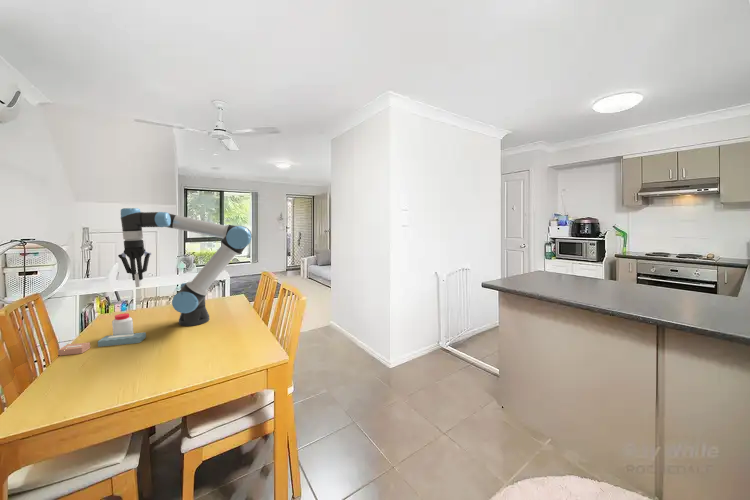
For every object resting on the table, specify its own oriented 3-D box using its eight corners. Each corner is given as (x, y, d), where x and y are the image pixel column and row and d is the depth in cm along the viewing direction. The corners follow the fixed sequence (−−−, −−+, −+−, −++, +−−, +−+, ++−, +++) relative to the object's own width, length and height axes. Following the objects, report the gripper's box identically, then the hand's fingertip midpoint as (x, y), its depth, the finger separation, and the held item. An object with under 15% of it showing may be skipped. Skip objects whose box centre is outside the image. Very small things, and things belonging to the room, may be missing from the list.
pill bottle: (137, 334, 150) (135, 313, 148) (119, 340, 142) (118, 318, 141) (127, 332, 152) (125, 311, 151) (109, 337, 145) (107, 316, 144)
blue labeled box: (146, 337, 146) (145, 332, 146) (139, 342, 140) (139, 337, 140) (106, 340, 141) (106, 335, 141) (98, 346, 135) (97, 341, 134)
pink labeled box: (90, 347, 134) (89, 342, 133) (82, 353, 128) (81, 347, 128) (68, 349, 131) (67, 344, 131) (58, 355, 125) (58, 349, 125)
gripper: (151, 238, 150) (156, 283, 153) (120, 239, 145) (125, 286, 148) (146, 239, 143) (151, 286, 146) (113, 240, 138) (119, 289, 141)
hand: (138, 286), depth 147 cm, fingers closed
